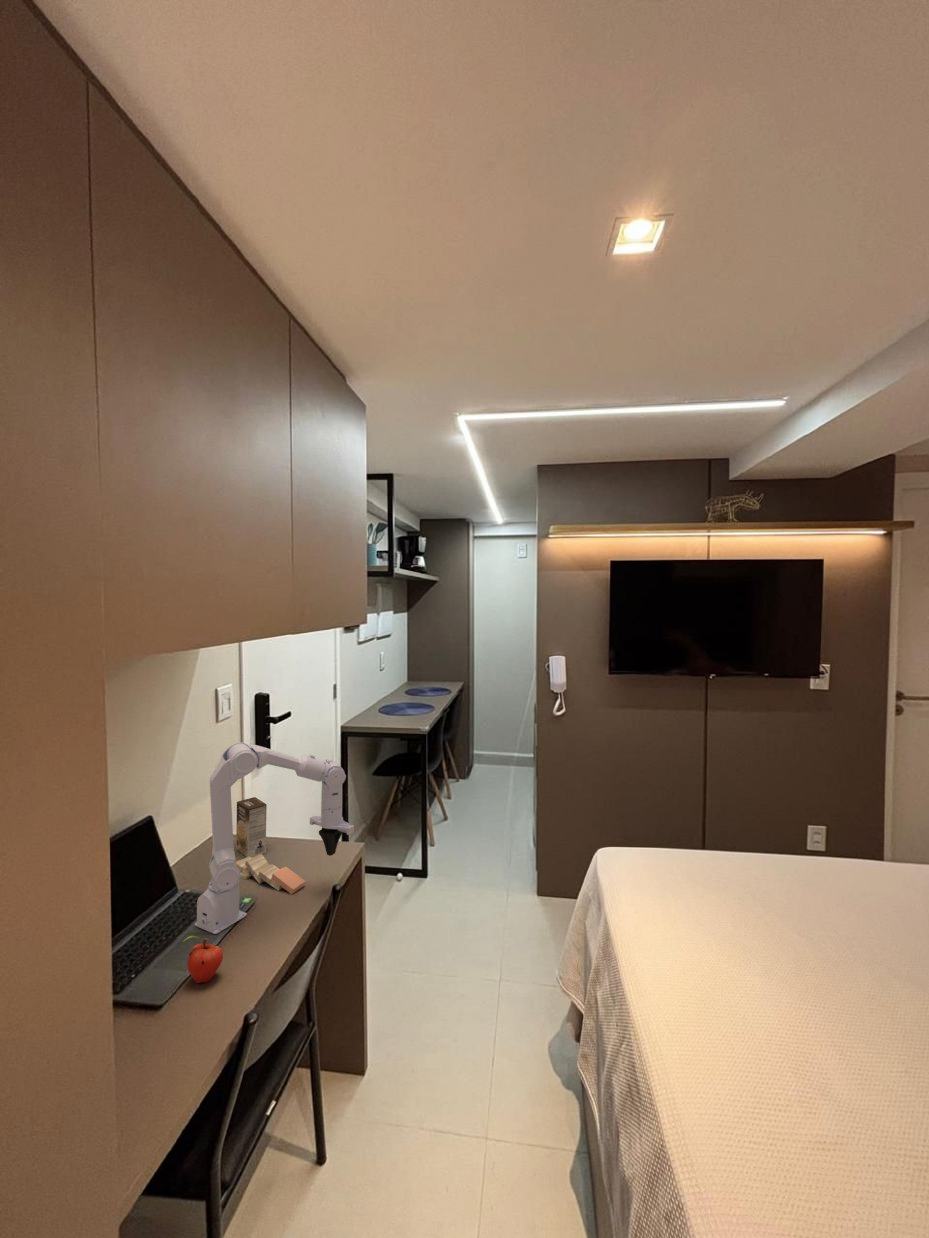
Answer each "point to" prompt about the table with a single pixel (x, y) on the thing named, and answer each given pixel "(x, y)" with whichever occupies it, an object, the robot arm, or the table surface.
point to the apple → (204, 960)
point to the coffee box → (251, 827)
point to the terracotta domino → (288, 880)
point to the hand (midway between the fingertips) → (331, 853)
